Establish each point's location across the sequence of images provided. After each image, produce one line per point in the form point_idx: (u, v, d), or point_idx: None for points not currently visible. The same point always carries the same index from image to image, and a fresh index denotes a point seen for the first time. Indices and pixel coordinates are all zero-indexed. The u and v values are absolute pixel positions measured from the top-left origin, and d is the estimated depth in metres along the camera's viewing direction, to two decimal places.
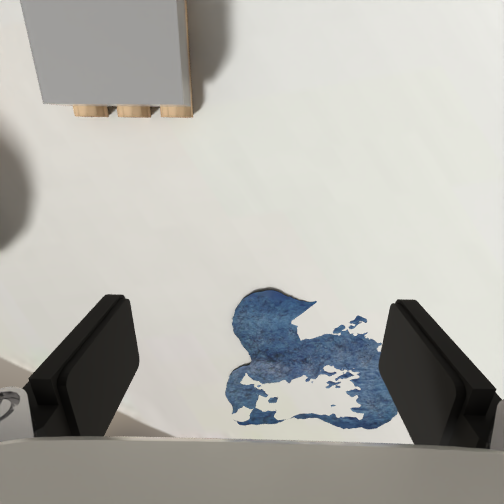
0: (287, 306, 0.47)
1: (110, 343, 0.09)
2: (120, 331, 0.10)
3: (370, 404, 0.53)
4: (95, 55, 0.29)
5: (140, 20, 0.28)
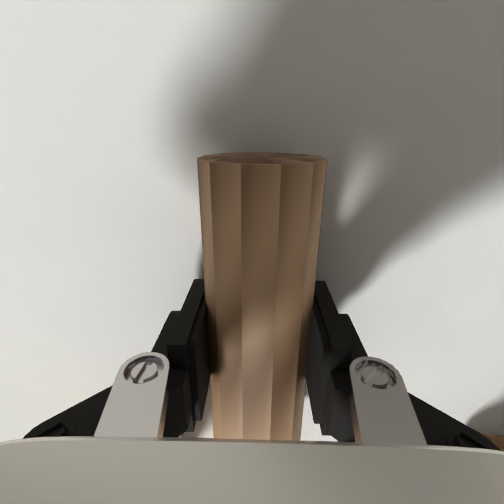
0: None
1: None
2: None
3: None
4: None
5: None
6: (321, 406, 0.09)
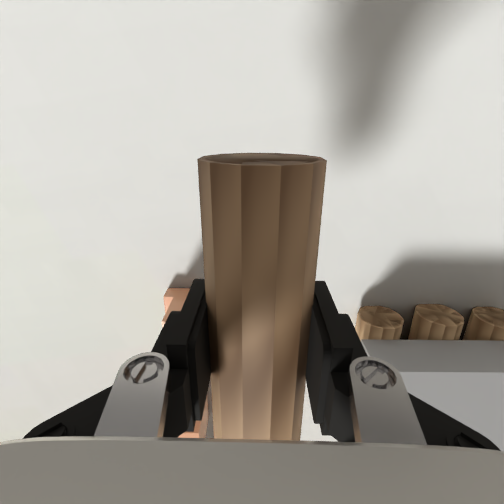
0: None
1: None
2: None
3: None
4: None
5: None
6: (321, 406, 0.09)
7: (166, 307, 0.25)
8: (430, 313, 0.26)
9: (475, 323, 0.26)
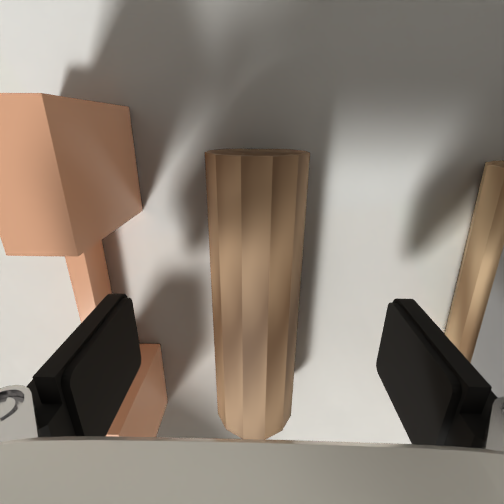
0: None
1: (113, 342, 0.09)
2: (122, 330, 0.10)
3: None
4: None
5: None
6: None
7: None
8: None
9: None
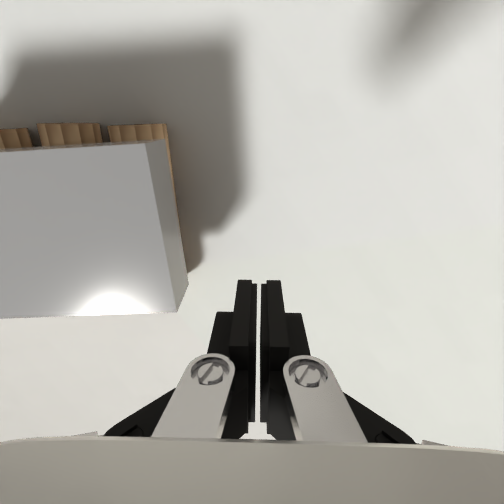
0: None
1: None
2: None
3: None
4: (31, 257, 0.18)
5: (94, 208, 0.17)
6: (264, 405, 0.09)
7: None
8: (59, 123, 0.20)
9: None
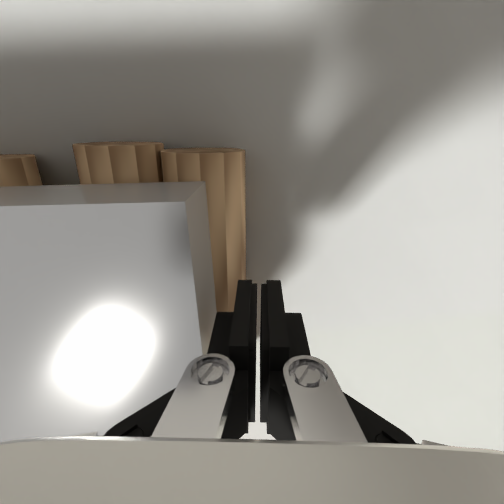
0: None
1: None
2: None
3: None
4: None
5: (91, 300, 0.10)
6: (264, 405, 0.09)
7: None
8: (105, 143, 0.13)
9: None
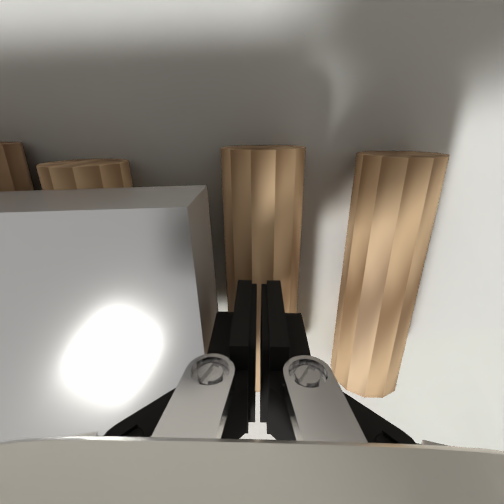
0: None
1: None
2: None
3: None
4: None
5: (94, 305, 0.10)
6: (264, 405, 0.09)
7: None
8: (256, 146, 0.14)
9: None
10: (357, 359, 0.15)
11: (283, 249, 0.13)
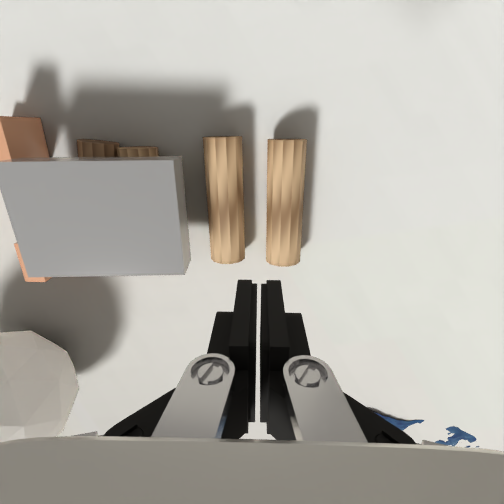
0: None
1: None
2: None
3: None
4: (86, 232, 0.26)
5: (135, 200, 0.25)
6: (264, 405, 0.09)
7: None
8: (220, 136, 0.29)
9: None
10: (274, 244, 0.30)
11: (232, 184, 0.28)
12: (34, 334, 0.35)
